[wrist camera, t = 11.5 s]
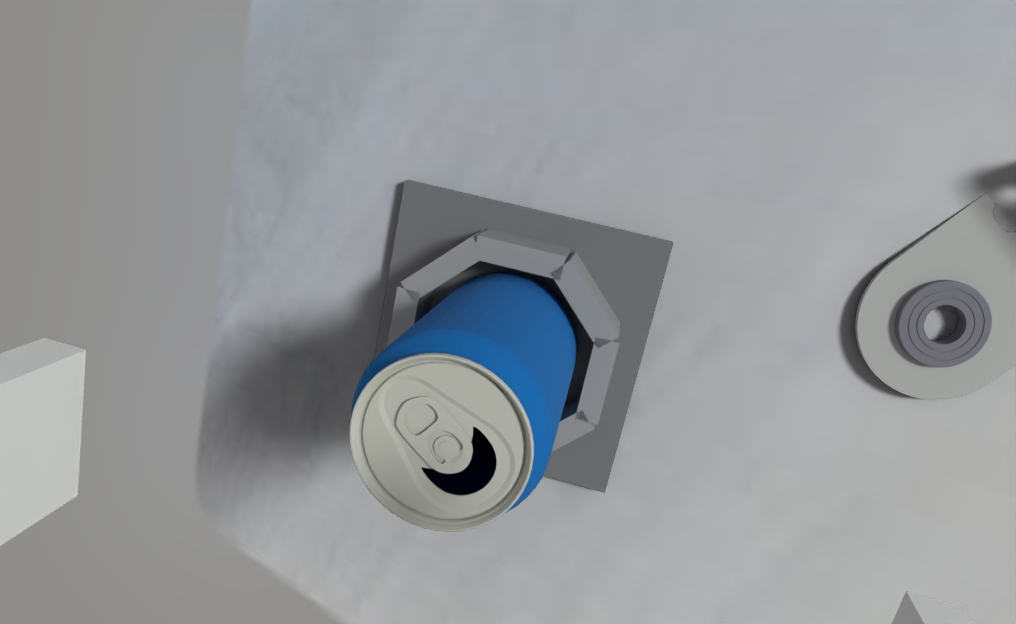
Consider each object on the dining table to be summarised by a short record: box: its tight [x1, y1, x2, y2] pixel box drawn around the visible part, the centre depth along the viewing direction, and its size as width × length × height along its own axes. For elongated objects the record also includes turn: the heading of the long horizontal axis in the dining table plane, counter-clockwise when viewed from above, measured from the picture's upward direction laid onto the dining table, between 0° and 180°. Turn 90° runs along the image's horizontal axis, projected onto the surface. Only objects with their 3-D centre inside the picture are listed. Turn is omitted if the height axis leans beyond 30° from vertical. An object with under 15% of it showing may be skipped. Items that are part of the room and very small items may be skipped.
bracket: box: [855, 193, 1016, 400], centre depth 28 cm, size 7×10×4 cm, turn 131°
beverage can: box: [349, 272, 578, 532], centre depth 27 cm, size 6×6×12 cm
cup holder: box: [374, 180, 673, 493], centre depth 32 cm, size 12×12×3 cm
